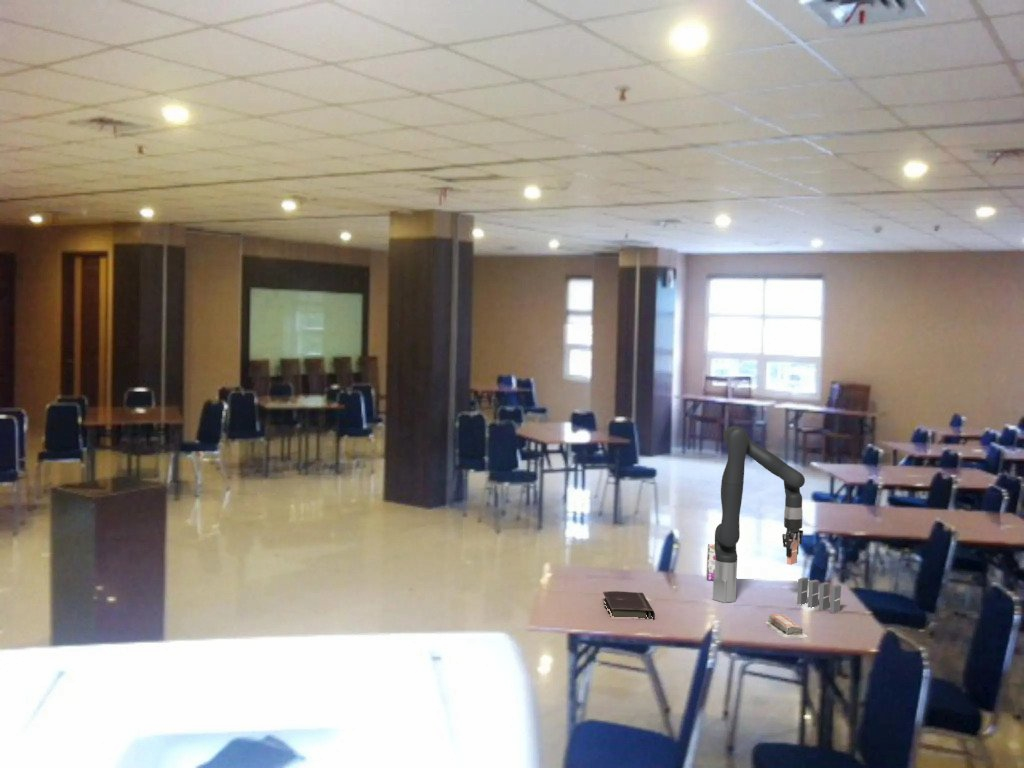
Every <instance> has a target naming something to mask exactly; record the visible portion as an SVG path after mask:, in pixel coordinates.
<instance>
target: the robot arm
mask: <svg viewBox="0 0 1024 768" xmlns="http://www.w3.org/2000/svg"><path fill="white" fill-rule="evenodd" d="M723 440H724V443H726V445H727V446H728V447H727V449H728V451H727V462H726V464H725V467H724V469H723V474H722V477H721V483H720V501H721V511H722V512H721V513H722V514H721V522H720V523H719V524H718V525H717V526H716V528H715V529H714V544H715V578H714V581H712V582H713V585H712V600H713V601H717V602H720V603H724V604H725V603H733V602H736V599H737V598H736V595H737V569H738V554H737V544H738V542H739V540H740V538H741V537H740V533H741V532H740V514H741V507H742V500H743V493H744V482H745V462H746V455H747V456H749V457H750V458H751V459H752V460H754V461H755V462H757V464H759V465H760V466H762V467H763V468H764V469H765V470H766V471H768V472H769V473H770V474H773V475H774V476H776V477H778V478H780V479H781V480H782V481H783V485H784V488H783V489H784V493H785V499H784V500H785V505H784V515H783V518H784V519H783V527H784V528H785V529H786V530H785V533H782V536H781V538H782V546H783V548H785V550H786V551H785V552H786V553H785V555H786V558H787V557H792V549H791V548H792V544H793V543H794V540H797V556H798V555H799V547H800V545H802V543H803V536H804V530H801V529H802V528H803V495H802V493H801V489H800V488H802V487H803V486H804V485H805V483H806V479H805V476H804V475H803V473H802V472H799V470H797V469H795V468H794V467H792V466H790V465H789V464H788V463H786V462H785V461H784V460H782V459H781V458H780V457H779V456H777V455H775V454H774V453H773V452H770V451H769V450H768V449H766V448H764V447H763V446H760V445H759V444H757V443H756V442H755V441H753V440H752V439H751V438H750V437H749V434H748V432H747V430H745V429H744V428H743V427H740V426H736V425H735V426H734V425H733V426H732V425H731V426H729V427H728V428H726V429H725V430H724V432H723ZM789 539H792V541H789Z"/></svg>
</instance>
